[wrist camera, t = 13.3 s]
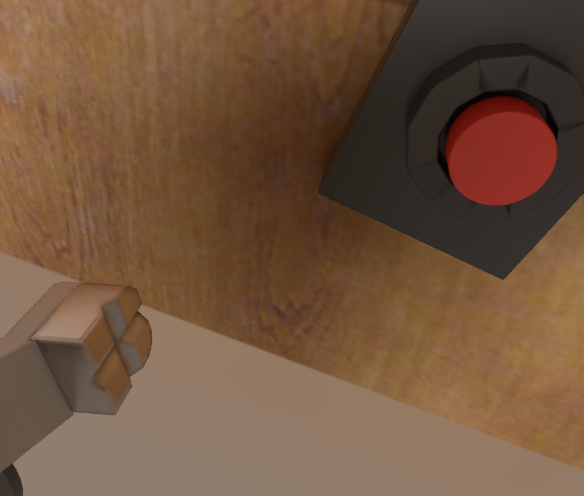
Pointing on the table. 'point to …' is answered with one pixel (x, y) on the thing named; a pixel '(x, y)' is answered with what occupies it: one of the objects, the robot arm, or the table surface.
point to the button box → (448, 106)
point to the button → (500, 151)
